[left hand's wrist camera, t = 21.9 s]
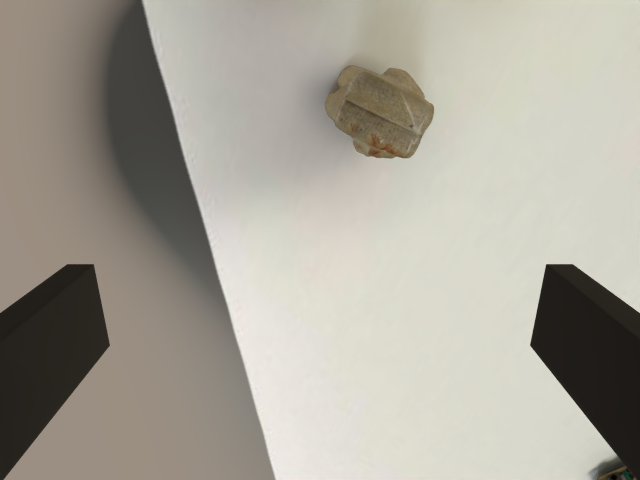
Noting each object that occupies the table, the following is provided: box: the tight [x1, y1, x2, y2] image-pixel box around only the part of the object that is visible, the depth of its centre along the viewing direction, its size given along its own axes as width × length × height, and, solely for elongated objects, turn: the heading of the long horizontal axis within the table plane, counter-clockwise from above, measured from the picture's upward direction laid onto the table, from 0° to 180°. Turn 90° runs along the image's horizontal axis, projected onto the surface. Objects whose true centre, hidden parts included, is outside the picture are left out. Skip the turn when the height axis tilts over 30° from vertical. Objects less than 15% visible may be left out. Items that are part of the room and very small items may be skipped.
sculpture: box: [325, 66, 434, 158], centre depth 30 cm, size 6×7×15 cm
